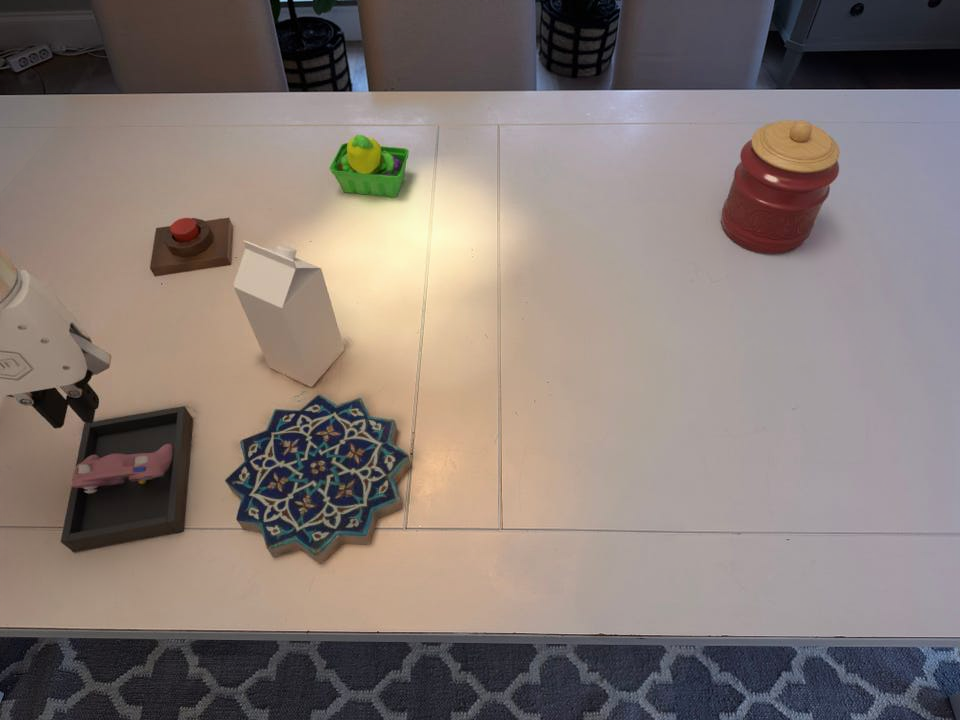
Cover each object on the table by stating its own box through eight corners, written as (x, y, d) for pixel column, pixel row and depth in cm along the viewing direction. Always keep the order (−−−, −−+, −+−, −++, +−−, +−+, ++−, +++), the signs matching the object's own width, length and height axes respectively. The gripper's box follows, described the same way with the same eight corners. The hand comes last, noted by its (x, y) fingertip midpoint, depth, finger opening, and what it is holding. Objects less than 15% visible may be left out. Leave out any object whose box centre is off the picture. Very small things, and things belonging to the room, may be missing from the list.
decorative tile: (264, 400, 84) (258, 389, 82) (421, 411, 82) (419, 400, 81) (208, 553, 72) (200, 544, 70) (391, 570, 70) (388, 561, 68)
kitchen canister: (703, 210, 105) (734, 106, 91) (776, 192, 107) (816, 88, 93) (749, 265, 97) (790, 160, 83) (826, 244, 99) (879, 139, 85)
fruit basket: (413, 174, 112) (405, 112, 103) (400, 208, 107) (391, 146, 98) (347, 168, 114) (334, 107, 105) (331, 201, 108) (316, 140, 99)
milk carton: (312, 388, 85) (272, 281, 70) (268, 367, 87) (220, 260, 72) (345, 350, 89) (314, 241, 74) (303, 331, 91) (264, 221, 76)
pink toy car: (94, 496, 77) (59, 495, 70) (92, 456, 78) (58, 452, 71) (182, 482, 78) (156, 481, 71) (179, 443, 79) (154, 438, 72)
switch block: (154, 276, 98) (144, 258, 96) (160, 236, 104) (151, 218, 101) (230, 264, 100) (223, 247, 97) (232, 225, 105) (225, 207, 102)
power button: (173, 244, 98) (169, 235, 97) (175, 228, 100) (171, 219, 99) (199, 241, 98) (194, 231, 97) (200, 225, 101) (196, 216, 99)
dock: (73, 552, 72) (60, 542, 70) (95, 435, 82) (84, 422, 79) (183, 531, 73) (174, 520, 71) (193, 418, 83) (184, 405, 81)
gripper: (-171, 334, 49) (-18, 461, 63) (58, 299, 51) (156, 430, 65) (-134, 264, 54) (1, 397, 68) (75, 234, 55) (163, 370, 70)
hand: (76, 412), depth 66 cm, fingers closed
